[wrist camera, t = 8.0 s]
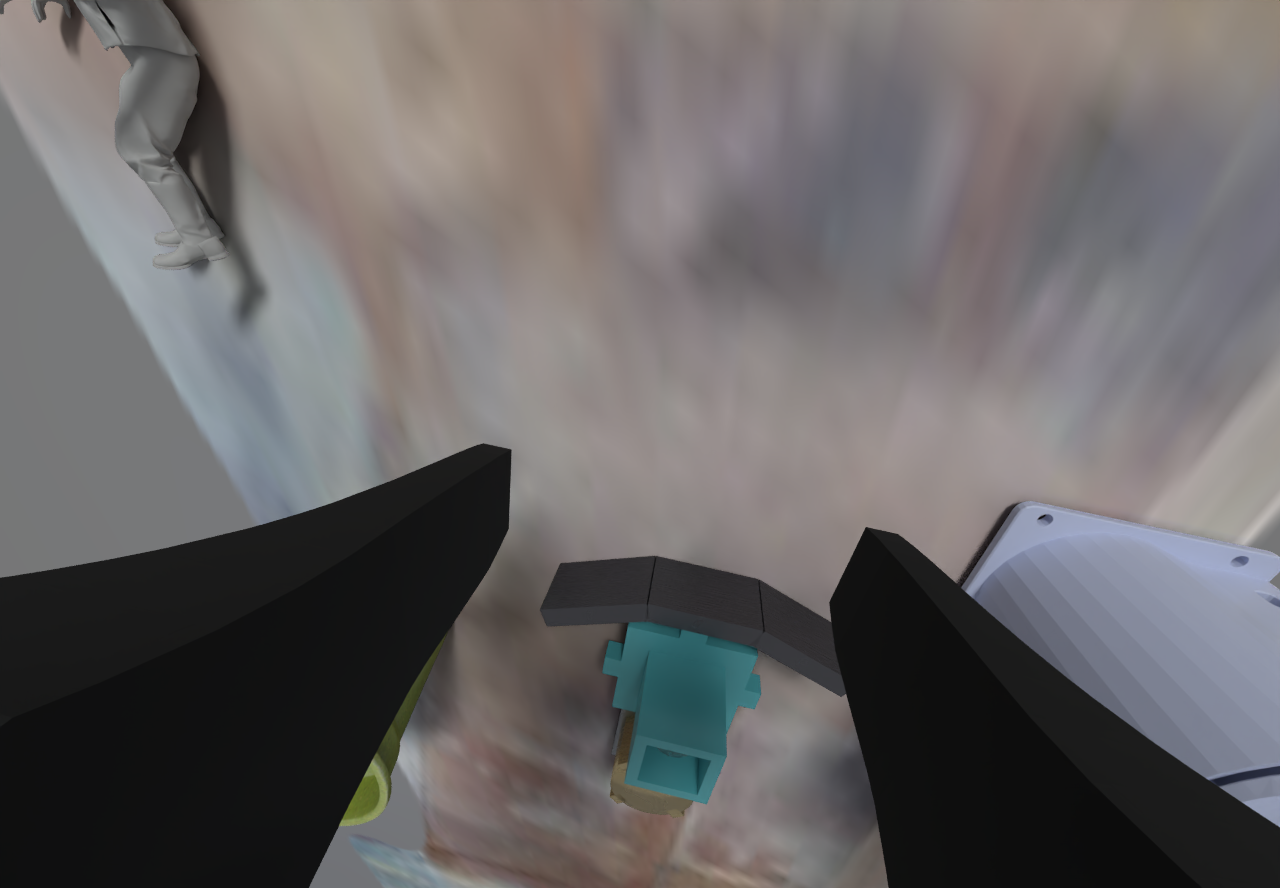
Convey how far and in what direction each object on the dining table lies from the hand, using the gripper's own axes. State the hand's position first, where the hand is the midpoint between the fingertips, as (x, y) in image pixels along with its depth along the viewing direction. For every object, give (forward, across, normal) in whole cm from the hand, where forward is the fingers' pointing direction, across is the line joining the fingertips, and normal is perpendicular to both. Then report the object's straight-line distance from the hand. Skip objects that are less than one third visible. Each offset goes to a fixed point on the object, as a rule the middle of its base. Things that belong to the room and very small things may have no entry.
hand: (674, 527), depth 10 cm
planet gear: (+8, -2, +15) cm, 17 cm away
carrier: (+9, -2, +16) cm, 19 cm away
